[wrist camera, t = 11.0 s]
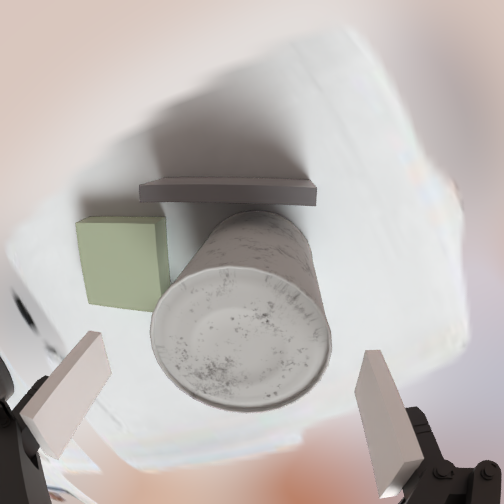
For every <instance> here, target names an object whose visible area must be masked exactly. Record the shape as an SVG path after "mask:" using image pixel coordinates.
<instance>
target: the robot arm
mask: <svg viewBox="0 0 504 504" xmlns="http://www.w3.org/2000/svg"><path fill="white" fill-rule="evenodd" d="M111 374H112V372H111V368H110V365H109V361H108V357H107V354H106V350H105V346H104V342H103V338H102V334H101V333H100V332H94V331H88V333H87V334H86V335H85V336H84V337H83V338H82V339H81V340H80V342H79V343H78V344H77V345H76V346H75V347H74V348H73V349H72V351H71V352H70V353H69V354H68V355H67V356H66V357H65V359H64V360H63V361H62V362H61V363H60V364H59V366H58V367H57V368H56V369H55V370H54V372H53V373H52V374H51V375H50V376H44V377H42V378H41V379H39V380H37V382H36V383H35V384H34V385H33V386H32V387H31V389H30V390H29V391H28V392H27V394H25V396H24V397H23V398H22V399H21V400H20V402H19V403H18V404H17V405H16V407H15V408H14V409H13V410H12V411H11V409H10V407H9V405H8V404H7V402H6V401H7V400H8V399H9V398H10V397H11V396H12V394H13V393H14V386H13V382H12V379H11V377H10V374H9V372H8V370H7V368H6V367H5V365H4V363H3V361H2V360H1V358H0V504H52V503H51V500H50V496H49V493H48V489H47V485H46V481H45V477H44V473H43V469H42V465H41V460H40V456H39V453H38V452H37V451H38V449H39V448H40V447H41V449H42V450H43V452H44V453H45V454H46V455H48V456H50V457H52V458H55V459H57V460H59V458H60V456H61V455H62V453H63V451H64V449H65V448H66V446H67V444H68V443H69V441H70V439H71V438H72V436H73V434H74V433H75V431H76V430H77V428H78V426H79V425H80V423H81V421H82V420H83V418H84V417H85V415H86V413H87V412H88V410H89V409H90V407H91V405H92V404H93V402H94V401H95V399H96V397H97V396H98V394H99V393H100V391H101V390H102V388H103V386H104V385H105V383H106V382H107V380H108V379H109V377H110V376H111ZM355 396H356V400H357V404H358V408H359V412H360V415H361V419H362V423H363V427H364V432H365V436H366V440H367V444H368V448H369V452H370V457H371V461H372V466H373V470H374V475H375V479H376V484H377V488H378V494H379V498H385V497H391V496H396V495H398V494H399V493H400V491H401V490H402V489H403V492H404V497H403V499H402V500H401V501H400V502H399V503H398V504H500V497H501V469H500V468H499V466H498V464H496V463H495V462H493V461H489V460H485V461H482V462H480V463H479V464H478V465H477V466H476V467H475V468H458V467H455V466H454V465H453V463H451V462H450V461H448V460H444V458H443V456H442V454H441V451H440V449H439V447H438V444H437V442H436V439H435V437H434V435H433V432H431V431H432V430H431V428H430V425H428V421H427V419H426V416H425V414H424V413H423V412H422V411H421V410H420V409H419V408H418V407H409V408H405V407H404V404H403V402H402V399H401V397H400V395H399V392H398V390H397V387H396V385H395V383H394V380H393V378H392V376H391V373H390V371H389V369H388V366H387V364H386V362H385V360H384V357H383V355H382V353H381V351H380V350H365V354H364V358H363V362H362V366H361V370H360V374H359V377H358V381H357V385H356V388H355Z"/></svg>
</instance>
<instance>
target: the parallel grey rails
mask: <svg viewBox="0 0 504 504" xmlns="http://www.w3.org/2000/svg"><path fill="white" fill-rule="evenodd" d="M139 194H140V202H215V203H254V204H281V205H303V206H316V196H317V187H316V186H315V185H314V184H313V183H312V181H311V180H302V179H280V178H248V177H166V178H161V179H158V180H154V181H151V182H148V183H145V184H141V185H139Z"/></svg>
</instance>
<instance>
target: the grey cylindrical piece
mask: <svg viewBox="0 0 504 504" xmlns="http://www.w3.org/2000/svg"><path fill="white" fill-rule="evenodd" d="M150 338H151V345H152V350H153V352H154V355H155V357H156V360H157V362H158V364H159V366H160V367H161V369H162V370H163V372H164V373H165V374H166V376H167V377H168V378H169V379H170V380H171V381H172V382H173V383H174V384H175V385H176V386H177V387H178V388H179V389H180V390H181V391H183V392H184V393H186V394H187V395H189V396H190V397H192V398H193V399H195V400H197V401H199V402H201V403H203V404H206V405H208V406H210V407H213V408H217V409H220V410H224V411H228V412H237V413H262V412H267V411H272V410H276V409H280V408H283V407H285V406H287V405H290V404H292V403H294V402H296V401H298V400H299V399H301V398H302V397H303V396H305V395H306V394H308V393H309V392H310V391H311V390H312V389H313V388H314V387H315V386H316V385H317V384H318V382H319V381H320V380H321V378H322V376H323V375H324V373H325V371H326V369H327V367H328V365H329V361H330V356H331V352H332V340H331V330H330V327H329V325H328V322H327V319H326V316H325V311H324V307H323V303H322V298H321V294H320V290H319V285H318V281H317V277H316V273H315V268H314V264H313V259H312V252H311V249H310V246H309V244H308V241H307V239H306V238H305V236H304V235H303V234H302V232H301V231H300V230H299V229H298V228H297V227H296V226H295V225H294V224H293V223H292V222H291V221H289V220H287V219H285V218H284V217H282V216H280V215H278V214H274V213H271V212H268V211H256V210H252V211H246V212H240V213H238V214H235V215H233V216H230V217H228V218H227V219H225V220H224V221H222V222H221V223H220V224H218V225H217V226H216V228H215V229H214V230H213V231H212V232H211V233H210V235H209V237H208V239H207V240H206V242H205V243H204V244H203V245H202V247H201V248H200V249H199V250H198V252H197V253H196V254H195V256H194V257H193V258H192V260H191V261H190V262H189V263H188V265H187V266H186V267H185V269H184V270H183V271H182V273H181V274H180V275H179V276H178V278H177V279H176V280H175V282H174V283H173V284H171V285H170V286H169V288H168V289H167V290H166V291H165V292H164V294H163V295H162V296H161V297H160V298H159V300H158V302H157V304H156V307H155V309H154V311H153V314H152V317H151V325H150Z"/></svg>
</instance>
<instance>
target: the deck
mask: <svg viewBox="0 0 504 504" xmlns="http://www.w3.org/2000/svg"><path fill="white" fill-rule="evenodd" d="M75 224H76V232H77V240H78V247H79V254H80V260H81V266H82V272H83V277H84V283H85V288H86V293H87V298H88V303H89V304H93V305H100V306H107V307H114V308H122V309H130V310H138V311H147V312H153V311H154V309H155V307H156V304H157V302H158V300H159V298H160V297H161V296H162V295H163V294H164V292H165V291H166V290H167V289H168V288H169V286H170V275H169V263H168V249H167V234H166V217H128V216H90V217H88V218H85V219H83V220H81V221H79V222H76V223H75Z"/></svg>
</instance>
